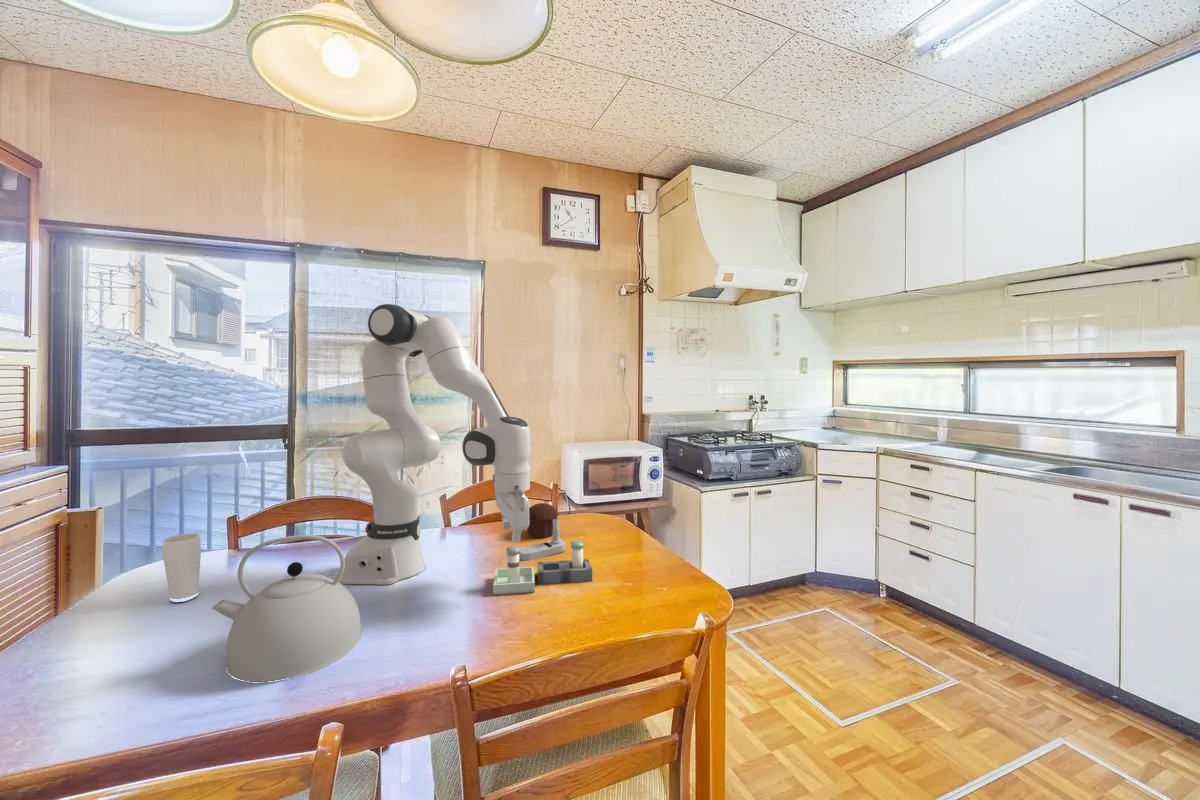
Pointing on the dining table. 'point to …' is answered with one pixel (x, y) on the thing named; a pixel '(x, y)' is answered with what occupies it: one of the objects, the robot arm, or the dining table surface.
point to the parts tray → (523, 586)
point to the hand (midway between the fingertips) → (511, 535)
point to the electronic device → (544, 546)
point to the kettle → (290, 623)
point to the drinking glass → (182, 564)
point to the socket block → (563, 572)
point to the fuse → (577, 554)
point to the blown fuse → (513, 564)
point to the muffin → (541, 520)
